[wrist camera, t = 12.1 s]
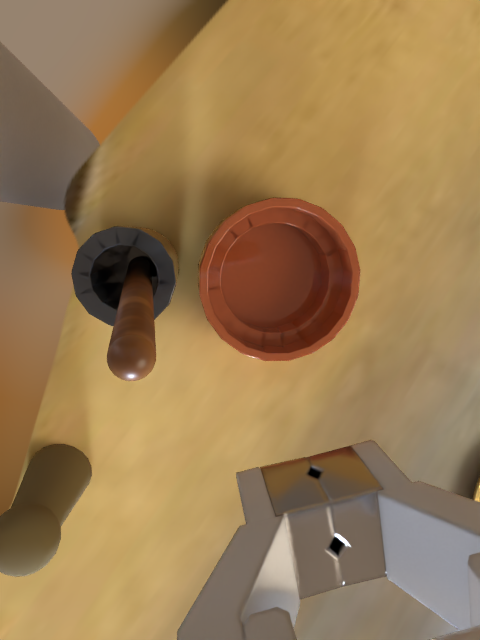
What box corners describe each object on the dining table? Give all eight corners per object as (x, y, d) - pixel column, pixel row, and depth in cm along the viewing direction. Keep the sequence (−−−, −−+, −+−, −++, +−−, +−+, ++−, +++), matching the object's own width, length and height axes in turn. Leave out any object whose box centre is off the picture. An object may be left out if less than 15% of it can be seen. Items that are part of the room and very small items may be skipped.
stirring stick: (125, 273, 37) (98, 383, 17) (131, 252, 37) (112, 337, 16) (147, 280, 38) (148, 394, 17) (154, 259, 37) (162, 350, 17)
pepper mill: (102, 458, 42) (72, 538, 31) (75, 507, 42) (37, 601, 32) (44, 434, 40) (-9, 507, 30) (17, 485, 41) (-43, 575, 31)
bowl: (179, 319, 40) (177, 333, 34) (225, 180, 37) (231, 172, 32) (307, 360, 42) (324, 379, 37) (358, 231, 40) (384, 232, 34)
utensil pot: (93, 289, 38) (60, 310, 28) (114, 215, 37) (88, 211, 27) (165, 312, 39) (157, 340, 30) (188, 241, 38) (188, 246, 28)
